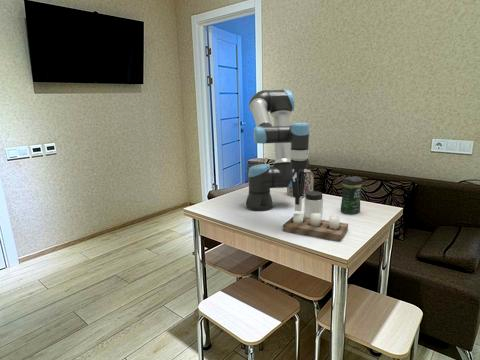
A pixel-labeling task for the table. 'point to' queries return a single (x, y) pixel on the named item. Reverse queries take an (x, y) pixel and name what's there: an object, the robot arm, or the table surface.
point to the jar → (313, 203)
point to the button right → (334, 222)
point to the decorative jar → (307, 186)
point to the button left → (298, 218)
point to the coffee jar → (351, 195)
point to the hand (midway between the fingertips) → (298, 210)
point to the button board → (316, 229)
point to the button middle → (315, 219)
